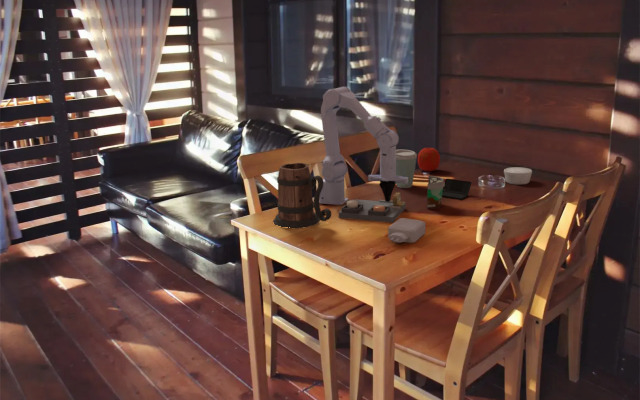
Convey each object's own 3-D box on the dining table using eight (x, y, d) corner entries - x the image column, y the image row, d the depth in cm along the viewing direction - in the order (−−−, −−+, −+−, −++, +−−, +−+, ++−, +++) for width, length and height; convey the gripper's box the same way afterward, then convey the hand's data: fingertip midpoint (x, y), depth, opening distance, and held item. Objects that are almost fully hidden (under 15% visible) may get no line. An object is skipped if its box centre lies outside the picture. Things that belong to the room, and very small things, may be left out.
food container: (444, 210, 214) (445, 184, 211) (427, 210, 215) (427, 183, 212) (444, 200, 226) (445, 175, 223) (428, 200, 227) (428, 175, 224)
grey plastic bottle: (380, 245, 183) (398, 230, 196) (407, 250, 179) (425, 235, 191) (380, 231, 182) (399, 217, 194) (407, 235, 177) (425, 221, 190)
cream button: (345, 208, 210) (345, 202, 209) (348, 204, 213) (348, 199, 213) (355, 209, 208) (355, 203, 208) (359, 205, 212) (359, 200, 211)
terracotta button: (372, 213, 207) (372, 208, 206) (375, 210, 210) (375, 204, 210) (383, 214, 205) (383, 209, 205) (386, 211, 209) (386, 205, 208)
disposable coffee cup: (420, 184, 249) (421, 149, 245) (410, 190, 240) (410, 155, 236) (398, 181, 255) (398, 147, 250) (387, 187, 246) (386, 152, 242)
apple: (417, 173, 268) (417, 148, 264) (417, 168, 277) (417, 144, 274) (439, 173, 266) (440, 148, 263) (439, 168, 275) (439, 144, 272)
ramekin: (497, 181, 251) (498, 169, 249) (517, 177, 255) (518, 165, 254) (516, 187, 241) (517, 174, 240) (537, 183, 245) (538, 171, 244)
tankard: (262, 222, 208) (259, 167, 202) (293, 210, 220) (291, 158, 215) (314, 235, 194) (312, 176, 188) (344, 221, 206) (343, 166, 200)
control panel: (338, 217, 210) (338, 208, 209) (354, 204, 225) (353, 195, 224) (393, 222, 203) (393, 213, 202) (405, 208, 218) (405, 199, 217)
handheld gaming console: (434, 193, 230) (442, 171, 232) (437, 200, 236) (445, 178, 238) (463, 201, 225) (471, 178, 227) (465, 207, 231) (473, 185, 234)
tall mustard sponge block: (392, 206, 213) (392, 196, 212) (396, 202, 218) (396, 192, 216) (401, 207, 212) (401, 196, 211) (404, 203, 216) (404, 192, 215)
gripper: (365, 166, 211) (365, 202, 215) (404, 168, 206) (404, 205, 210) (371, 161, 217) (371, 197, 221) (409, 164, 212) (409, 200, 216)
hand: (387, 200), depth 216 cm, fingers closed
